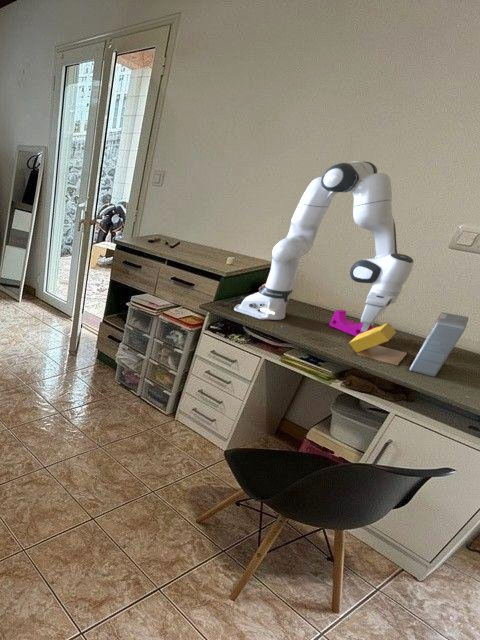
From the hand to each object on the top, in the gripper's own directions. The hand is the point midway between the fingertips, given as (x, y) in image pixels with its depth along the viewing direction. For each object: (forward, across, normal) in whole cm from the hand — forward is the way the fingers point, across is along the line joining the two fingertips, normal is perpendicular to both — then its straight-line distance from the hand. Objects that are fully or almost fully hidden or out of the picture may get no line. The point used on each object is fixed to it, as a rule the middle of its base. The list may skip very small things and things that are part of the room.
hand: (367, 327), depth 176 cm
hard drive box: (+10, +1, +22) cm, 24 cm away
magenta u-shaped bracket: (+9, -18, -7) cm, 22 cm away
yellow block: (+8, 0, -1) cm, 8 cm away
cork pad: (+9, 0, +8) cm, 12 cm away
